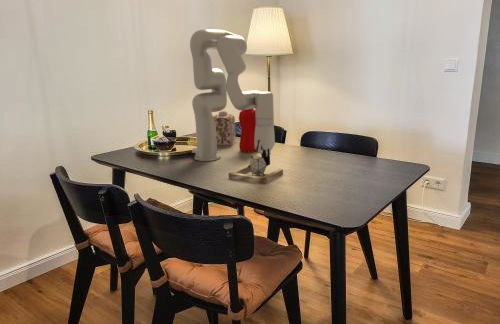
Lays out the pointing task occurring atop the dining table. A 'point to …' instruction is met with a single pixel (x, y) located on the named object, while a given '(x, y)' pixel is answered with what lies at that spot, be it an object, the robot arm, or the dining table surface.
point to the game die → (257, 165)
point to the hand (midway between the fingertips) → (266, 164)
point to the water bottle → (247, 130)
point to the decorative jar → (225, 128)
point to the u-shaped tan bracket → (240, 175)
